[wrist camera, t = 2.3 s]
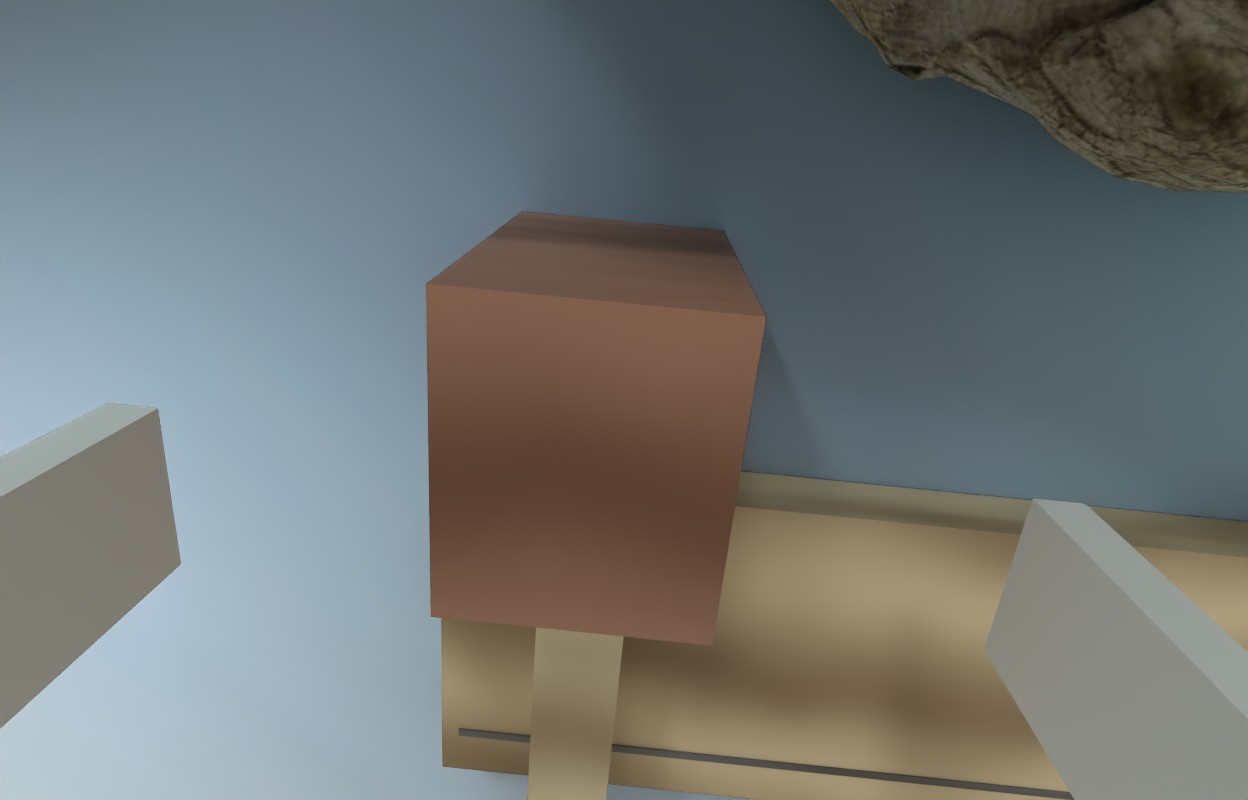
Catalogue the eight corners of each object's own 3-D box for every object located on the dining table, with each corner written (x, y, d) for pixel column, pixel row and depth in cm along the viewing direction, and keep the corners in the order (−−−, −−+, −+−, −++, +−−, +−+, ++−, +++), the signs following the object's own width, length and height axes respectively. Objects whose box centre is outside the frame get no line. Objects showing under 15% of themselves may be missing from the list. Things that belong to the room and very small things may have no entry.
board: (460, 443, 21) (440, 477, 19) (1324, 529, 20) (1393, 573, 18) (459, 715, 24) (442, 767, 22) (1189, 792, 24) (1234, 851, 22)
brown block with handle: (522, 211, 18) (426, 284, 11) (723, 230, 18) (766, 316, 11) (504, 719, 24) (435, 987, 17) (655, 734, 24) (652, 1010, 17)
